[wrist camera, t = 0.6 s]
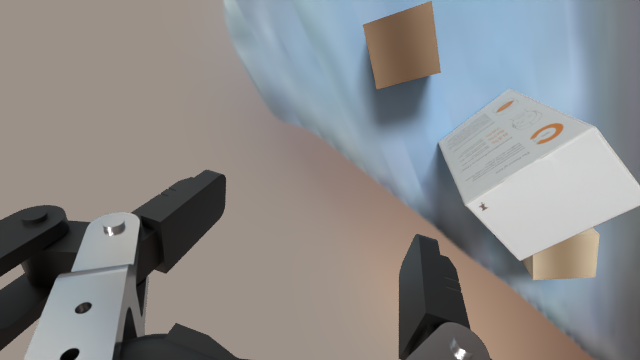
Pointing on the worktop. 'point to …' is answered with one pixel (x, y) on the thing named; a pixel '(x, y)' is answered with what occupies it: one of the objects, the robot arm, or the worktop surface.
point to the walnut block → (403, 46)
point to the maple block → (566, 258)
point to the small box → (536, 173)
